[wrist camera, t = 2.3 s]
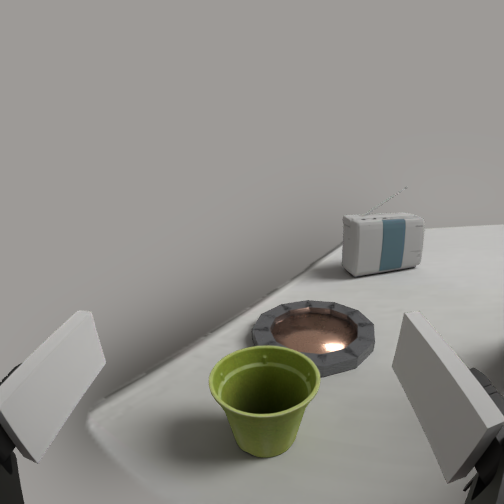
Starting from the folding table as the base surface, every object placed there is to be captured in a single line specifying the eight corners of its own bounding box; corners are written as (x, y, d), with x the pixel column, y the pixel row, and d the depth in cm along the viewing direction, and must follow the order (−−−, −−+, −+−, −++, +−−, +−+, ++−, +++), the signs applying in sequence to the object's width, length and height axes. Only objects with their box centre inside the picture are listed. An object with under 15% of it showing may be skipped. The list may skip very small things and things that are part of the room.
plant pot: (326, 456, 23) (339, 397, 21) (229, 481, 21) (218, 426, 19) (293, 398, 32) (296, 337, 30) (212, 414, 30) (202, 354, 27)
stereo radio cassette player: (353, 280, 65) (358, 189, 59) (337, 268, 72) (339, 185, 66) (421, 269, 68) (428, 189, 63) (402, 259, 76) (407, 186, 70)
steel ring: (370, 313, 50) (371, 304, 49) (374, 380, 33) (376, 370, 33) (271, 305, 55) (271, 297, 55) (236, 365, 39) (236, 354, 38)
